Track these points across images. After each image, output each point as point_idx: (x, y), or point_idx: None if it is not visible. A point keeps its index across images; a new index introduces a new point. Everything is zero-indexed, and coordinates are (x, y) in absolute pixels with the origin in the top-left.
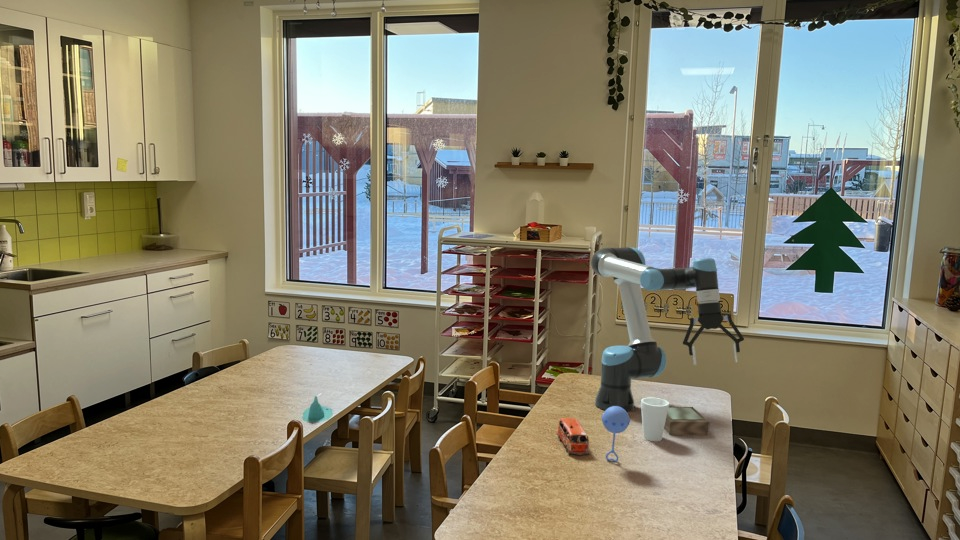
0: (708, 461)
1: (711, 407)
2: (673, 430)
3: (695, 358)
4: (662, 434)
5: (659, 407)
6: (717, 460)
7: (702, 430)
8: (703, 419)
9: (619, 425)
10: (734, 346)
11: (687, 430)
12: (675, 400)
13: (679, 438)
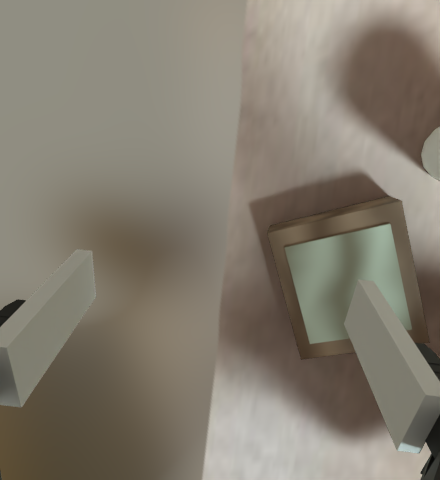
0: (297, 3)
1: (235, 430)
2: (380, 200)
3: (372, 315)
4: (429, 138)
5: None
6: (269, 24)
7: (287, 223)
8: (281, 252)
9: None
10: (15, 323)
11: (333, 212)
12: (327, 473)
13: (361, 172)
